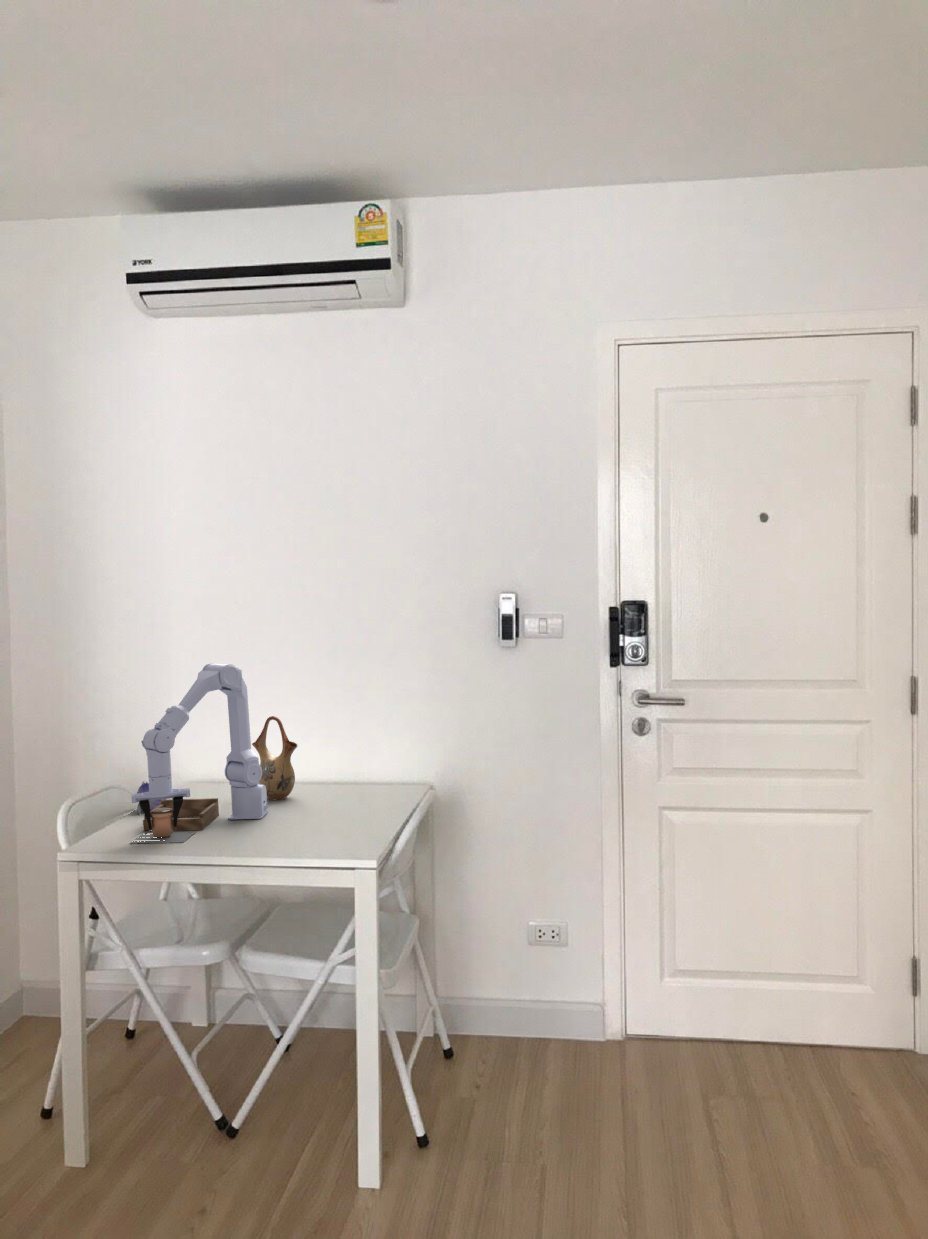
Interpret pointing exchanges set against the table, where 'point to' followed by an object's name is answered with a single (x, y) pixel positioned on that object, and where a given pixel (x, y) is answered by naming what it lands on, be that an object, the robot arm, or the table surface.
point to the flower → (153, 803)
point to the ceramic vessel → (276, 764)
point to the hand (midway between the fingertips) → (162, 827)
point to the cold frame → (191, 813)
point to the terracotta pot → (162, 822)
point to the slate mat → (166, 838)
